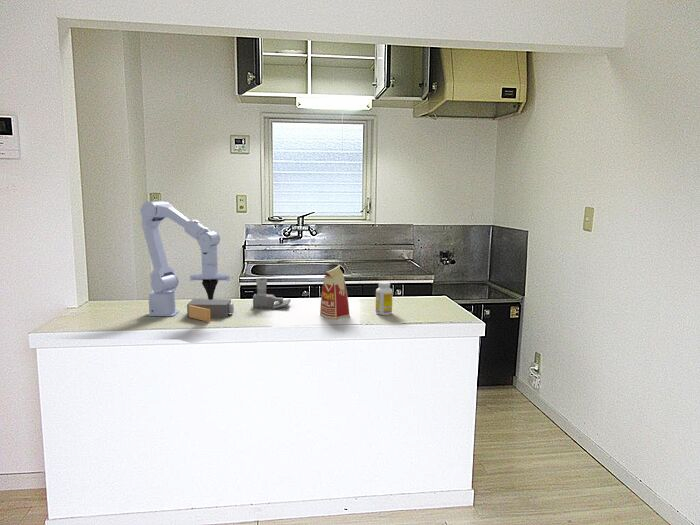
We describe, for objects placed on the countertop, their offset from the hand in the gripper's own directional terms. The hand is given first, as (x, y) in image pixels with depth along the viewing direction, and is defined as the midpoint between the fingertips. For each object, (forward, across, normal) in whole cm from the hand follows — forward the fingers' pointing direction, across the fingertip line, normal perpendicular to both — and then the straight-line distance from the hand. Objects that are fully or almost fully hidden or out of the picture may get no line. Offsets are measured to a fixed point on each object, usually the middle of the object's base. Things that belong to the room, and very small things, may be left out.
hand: (210, 299), depth 201 cm
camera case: (+8, -2, +8) cm, 11 cm away
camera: (+8, +21, +20) cm, 30 cm away
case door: (+8, -5, -1) cm, 9 cm away
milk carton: (+8, +47, +6) cm, 48 cm away
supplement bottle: (+8, +67, +10) cm, 68 cm away
